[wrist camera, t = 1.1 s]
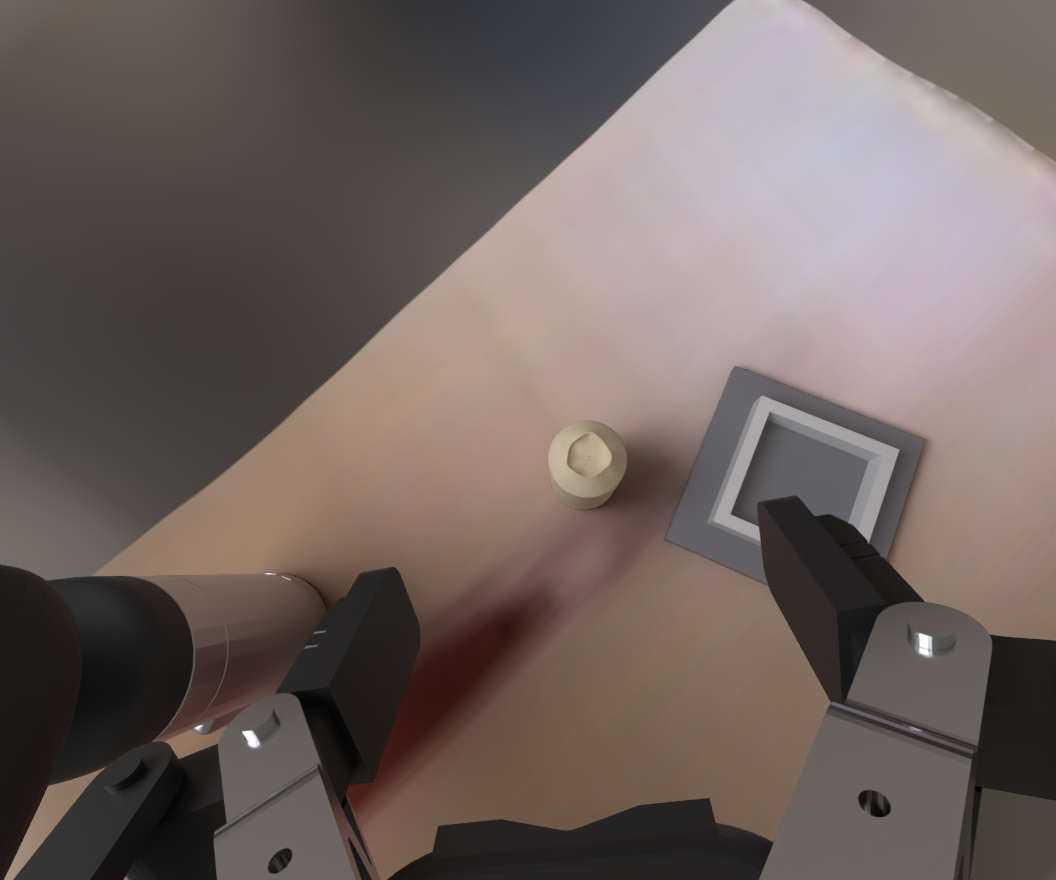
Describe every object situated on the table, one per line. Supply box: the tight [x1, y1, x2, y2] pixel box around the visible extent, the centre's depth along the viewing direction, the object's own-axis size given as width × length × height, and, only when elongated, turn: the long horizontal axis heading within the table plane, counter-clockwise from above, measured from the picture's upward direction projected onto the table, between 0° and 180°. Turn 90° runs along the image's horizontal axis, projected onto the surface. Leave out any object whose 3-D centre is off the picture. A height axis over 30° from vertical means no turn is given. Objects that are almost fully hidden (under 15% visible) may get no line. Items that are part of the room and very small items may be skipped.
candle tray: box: [664, 366, 925, 586], centre depth 44 cm, size 16×16×3 cm
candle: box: [548, 421, 627, 510], centre depth 42 cm, size 6×6×10 cm
